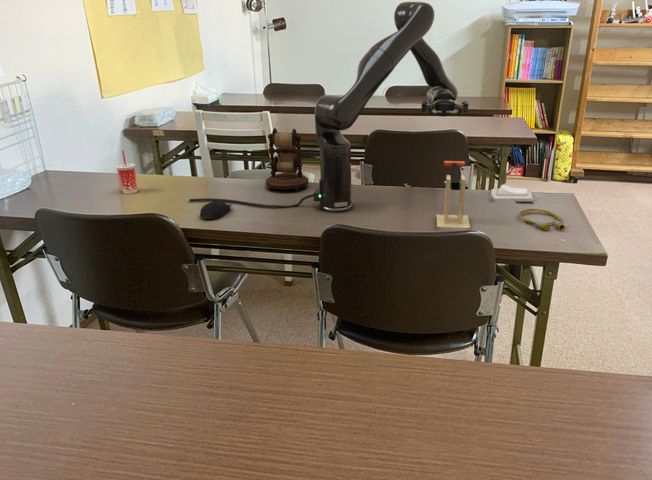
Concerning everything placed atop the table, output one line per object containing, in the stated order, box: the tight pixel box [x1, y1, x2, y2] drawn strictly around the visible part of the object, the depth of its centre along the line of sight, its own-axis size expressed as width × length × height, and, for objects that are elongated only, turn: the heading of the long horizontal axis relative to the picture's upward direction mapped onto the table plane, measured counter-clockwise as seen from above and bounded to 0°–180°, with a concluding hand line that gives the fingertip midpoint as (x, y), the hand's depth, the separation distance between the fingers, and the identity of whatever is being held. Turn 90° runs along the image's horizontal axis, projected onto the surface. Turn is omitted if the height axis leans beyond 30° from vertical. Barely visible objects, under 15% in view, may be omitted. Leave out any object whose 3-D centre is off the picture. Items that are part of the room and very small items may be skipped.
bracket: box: [436, 174, 471, 229], centre depth 155 cm, size 10×9×14 cm
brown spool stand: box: [264, 127, 310, 192], centre depth 188 cm, size 15×15×20 cm
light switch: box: [490, 184, 534, 203], centre depth 180 cm, size 11×4×13 cm
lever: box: [443, 160, 466, 191], centre depth 157 cm, size 13×6×2 cm, turn 174°
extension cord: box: [518, 208, 565, 231], centre depth 160 cm, size 12×16×2 cm
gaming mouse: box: [199, 200, 232, 220], centre depth 168 cm, size 6×15×4 cm, turn 163°
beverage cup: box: [115, 150, 138, 195], centre depth 186 cm, size 6×6×14 cm
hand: (445, 110), depth 166 cm, fingers open, 8 cm apart
